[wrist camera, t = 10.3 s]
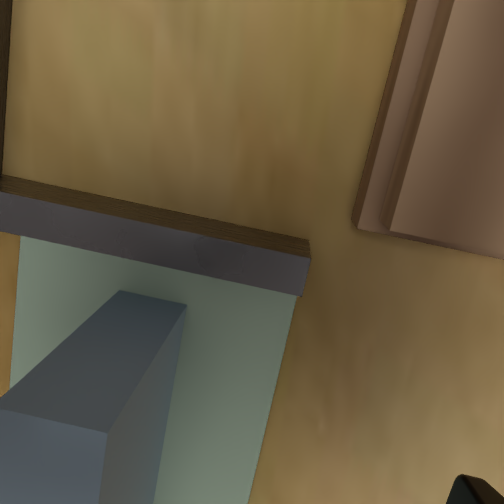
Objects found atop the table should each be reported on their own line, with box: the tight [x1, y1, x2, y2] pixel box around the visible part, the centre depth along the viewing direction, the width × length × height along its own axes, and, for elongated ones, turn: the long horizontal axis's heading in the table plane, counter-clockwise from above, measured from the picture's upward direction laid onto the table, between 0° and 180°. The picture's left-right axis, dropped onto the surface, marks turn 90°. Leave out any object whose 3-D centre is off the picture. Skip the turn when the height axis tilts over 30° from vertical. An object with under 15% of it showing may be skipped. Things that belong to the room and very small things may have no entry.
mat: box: [9, 236, 297, 504], centre depth 22 cm, size 12×15×1 cm
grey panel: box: [0, 290, 187, 504], centre depth 18 cm, size 3×12×9 cm, turn 169°
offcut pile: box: [351, 0, 504, 260], centre depth 16 cm, size 6×12×4 cm, turn 169°
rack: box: [0, 0, 311, 297], centre depth 16 cm, size 15×18×5 cm
